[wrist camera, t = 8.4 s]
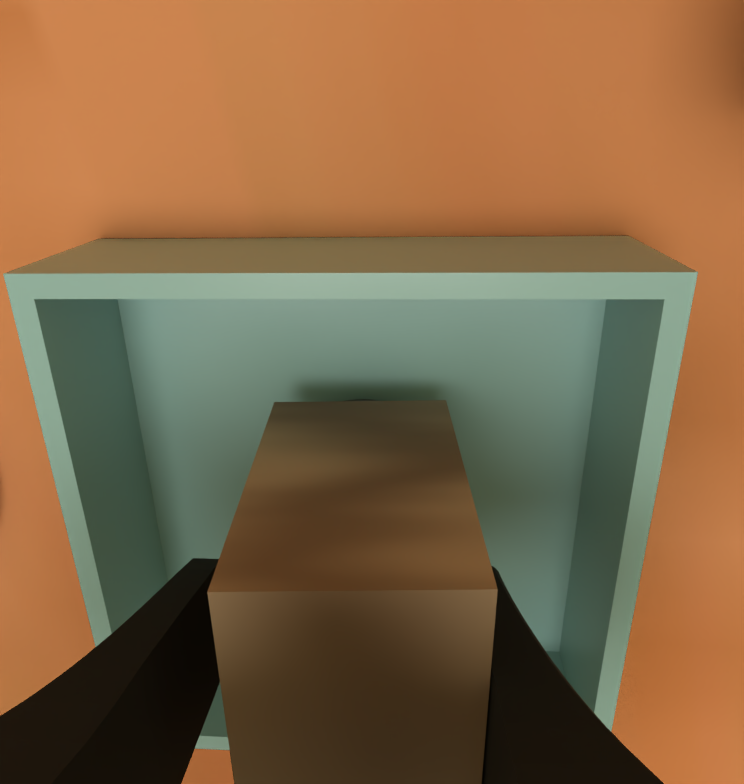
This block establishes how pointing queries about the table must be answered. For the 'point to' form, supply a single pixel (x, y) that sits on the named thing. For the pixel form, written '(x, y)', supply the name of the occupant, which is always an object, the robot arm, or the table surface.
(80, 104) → the table surface
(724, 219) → the table surface
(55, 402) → the teal bin
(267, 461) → the brown wooden block
